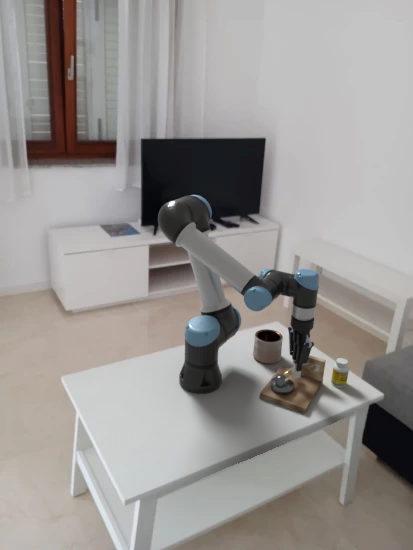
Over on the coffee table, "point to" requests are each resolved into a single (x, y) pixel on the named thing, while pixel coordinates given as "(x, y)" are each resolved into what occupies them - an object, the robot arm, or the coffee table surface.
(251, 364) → the coffee table surface
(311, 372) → the stand
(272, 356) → the planter
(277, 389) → the ball knob lever
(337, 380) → the supplement bottle
